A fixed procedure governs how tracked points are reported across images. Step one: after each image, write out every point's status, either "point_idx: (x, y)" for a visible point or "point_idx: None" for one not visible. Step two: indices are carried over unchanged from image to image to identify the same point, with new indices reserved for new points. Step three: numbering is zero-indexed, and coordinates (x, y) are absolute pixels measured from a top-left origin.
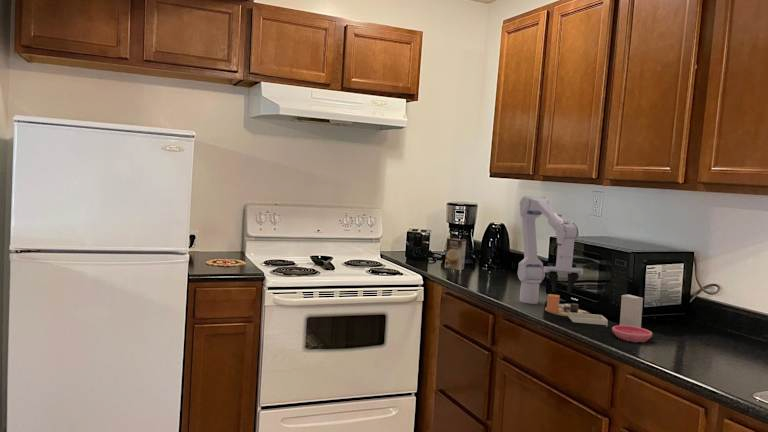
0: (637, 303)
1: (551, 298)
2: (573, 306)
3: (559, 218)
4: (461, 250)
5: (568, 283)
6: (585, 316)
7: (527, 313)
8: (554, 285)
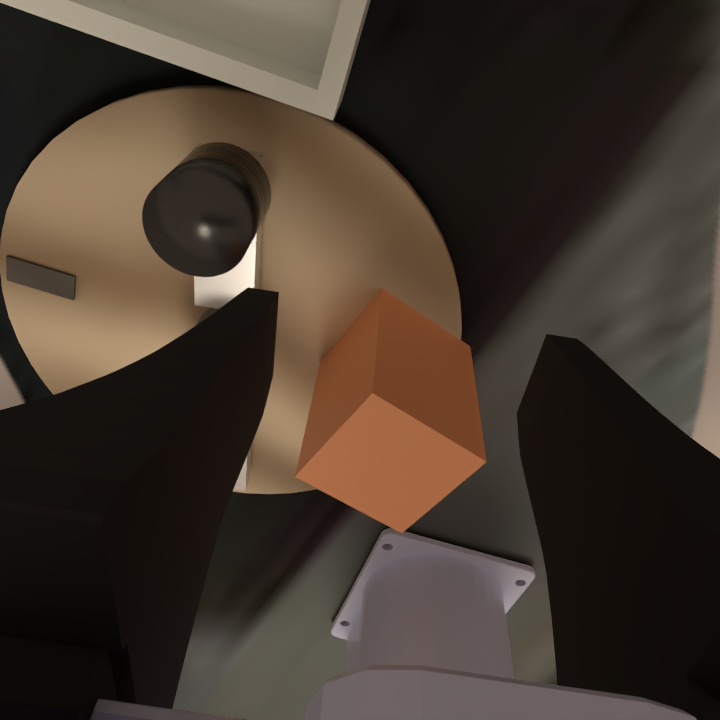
0: None
1: (445, 417)
2: (233, 183)
3: None
4: None
5: (224, 486)
6: (127, 11)
7: (702, 319)
8: (643, 407)
